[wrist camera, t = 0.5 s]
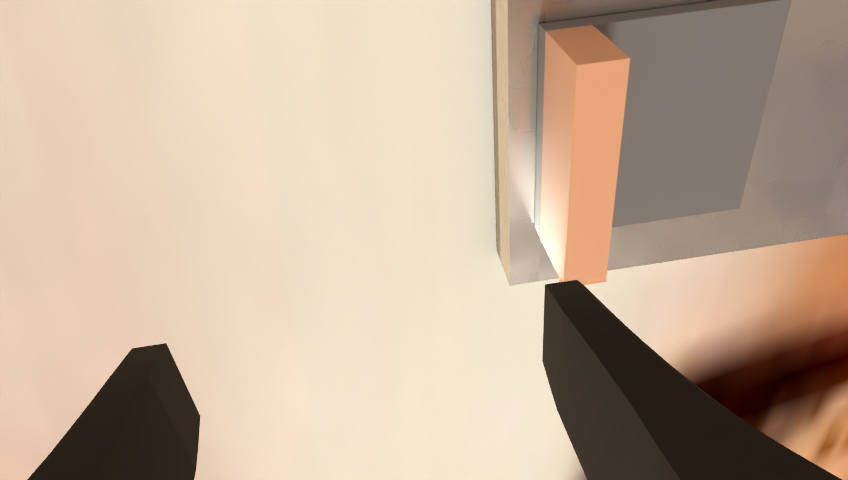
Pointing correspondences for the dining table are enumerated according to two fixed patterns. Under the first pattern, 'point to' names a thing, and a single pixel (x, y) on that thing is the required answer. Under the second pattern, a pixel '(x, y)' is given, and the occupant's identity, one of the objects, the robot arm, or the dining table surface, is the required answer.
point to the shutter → (647, 120)
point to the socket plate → (770, 166)
